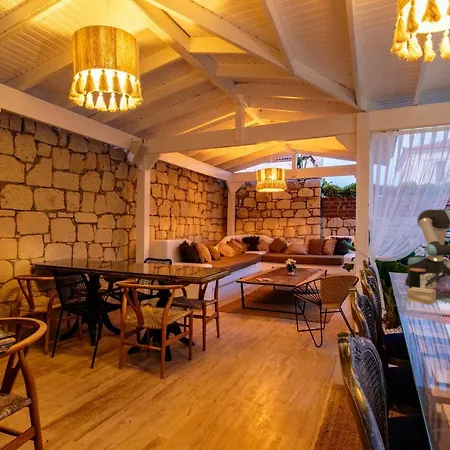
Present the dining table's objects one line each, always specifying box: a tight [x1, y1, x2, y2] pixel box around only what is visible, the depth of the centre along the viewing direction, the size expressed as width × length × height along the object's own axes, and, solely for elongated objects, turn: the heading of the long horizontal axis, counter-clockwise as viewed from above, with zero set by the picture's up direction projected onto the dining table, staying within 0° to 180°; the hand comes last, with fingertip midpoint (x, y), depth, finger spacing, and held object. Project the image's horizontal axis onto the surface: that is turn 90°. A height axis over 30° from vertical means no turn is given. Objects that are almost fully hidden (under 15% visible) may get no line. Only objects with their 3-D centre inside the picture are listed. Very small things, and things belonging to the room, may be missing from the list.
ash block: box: [406, 287, 437, 306], centre depth 235 cm, size 12×14×8 cm
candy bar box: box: [420, 273, 437, 291], centre depth 246 cm, size 11×5×16 cm, turn 119°
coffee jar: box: [408, 268, 427, 289], centre depth 258 cm, size 11×11×18 cm
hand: (424, 286), depth 247 cm, fingers open, 13 cm apart
